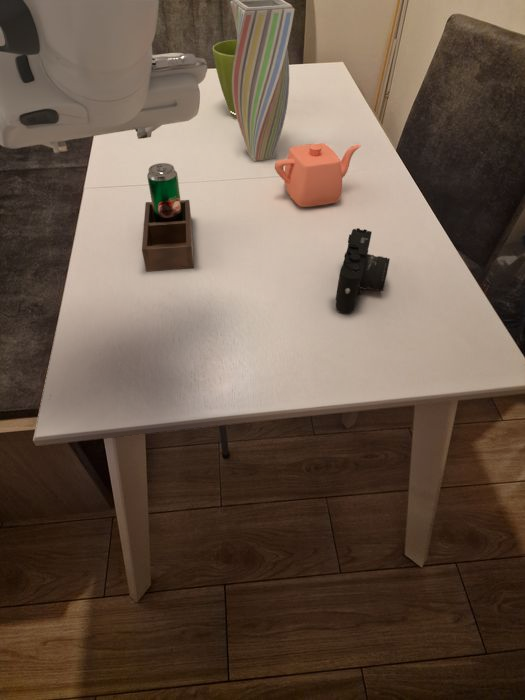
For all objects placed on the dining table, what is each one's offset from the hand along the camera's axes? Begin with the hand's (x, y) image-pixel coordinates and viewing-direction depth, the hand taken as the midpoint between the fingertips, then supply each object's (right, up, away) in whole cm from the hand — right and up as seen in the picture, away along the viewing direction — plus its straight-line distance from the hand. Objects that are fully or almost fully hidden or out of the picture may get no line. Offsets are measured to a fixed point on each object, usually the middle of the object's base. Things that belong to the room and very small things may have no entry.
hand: (101, 138), depth 55 cm
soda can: (+1, -2, +36) cm, 36 cm away
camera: (+34, -14, +25) cm, 45 cm away
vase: (+18, +22, +60) cm, 66 cm away
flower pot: (+13, +40, +77) cm, 88 cm away
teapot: (+29, +8, +47) cm, 56 cm away
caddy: (+1, -5, +33) cm, 34 cm away
